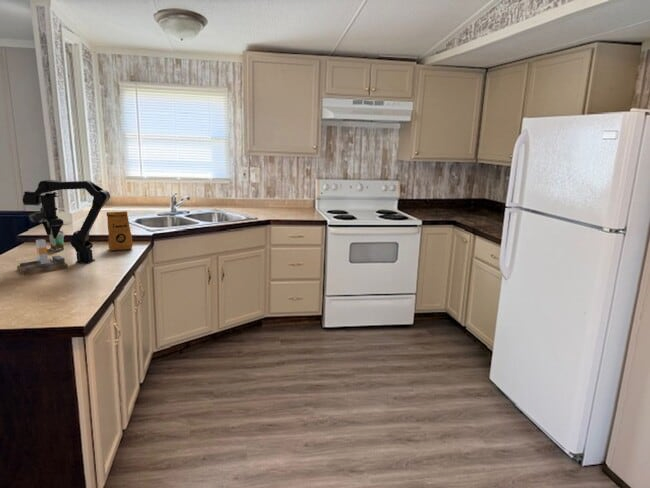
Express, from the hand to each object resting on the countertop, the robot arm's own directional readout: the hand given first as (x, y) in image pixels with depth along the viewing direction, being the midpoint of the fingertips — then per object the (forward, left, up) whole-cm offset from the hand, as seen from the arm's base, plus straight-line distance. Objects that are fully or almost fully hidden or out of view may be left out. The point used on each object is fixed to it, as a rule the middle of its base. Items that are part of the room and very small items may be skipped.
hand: (51, 236), depth 219 cm
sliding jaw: (-3, +11, -11) cm, 16 cm away
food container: (+16, -24, -13) cm, 32 cm away
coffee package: (-16, -32, -13) cm, 38 cm away
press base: (-3, +11, -13) cm, 18 cm away
